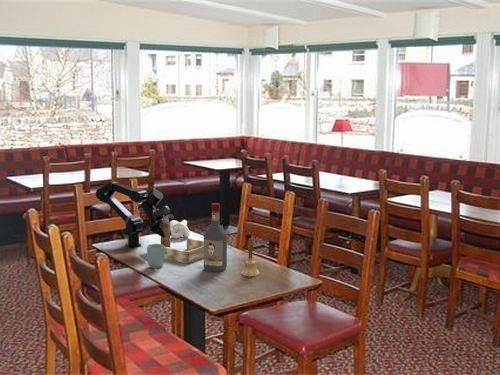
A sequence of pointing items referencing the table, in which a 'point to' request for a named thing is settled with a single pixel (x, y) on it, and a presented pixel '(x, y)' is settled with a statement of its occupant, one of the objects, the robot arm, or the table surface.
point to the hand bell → (250, 262)
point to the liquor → (215, 243)
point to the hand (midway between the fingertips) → (167, 236)
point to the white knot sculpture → (179, 229)
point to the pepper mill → (165, 231)
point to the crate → (186, 252)
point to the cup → (155, 255)
